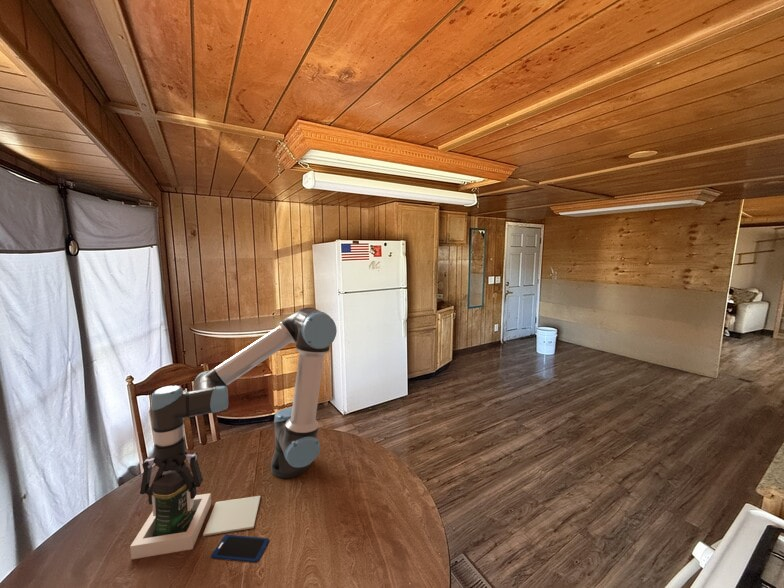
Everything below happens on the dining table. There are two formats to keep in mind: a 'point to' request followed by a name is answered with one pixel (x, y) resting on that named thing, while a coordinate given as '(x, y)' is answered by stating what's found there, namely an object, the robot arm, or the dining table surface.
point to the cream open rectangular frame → (172, 542)
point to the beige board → (232, 515)
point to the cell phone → (240, 548)
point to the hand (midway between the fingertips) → (173, 509)
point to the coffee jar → (171, 504)
